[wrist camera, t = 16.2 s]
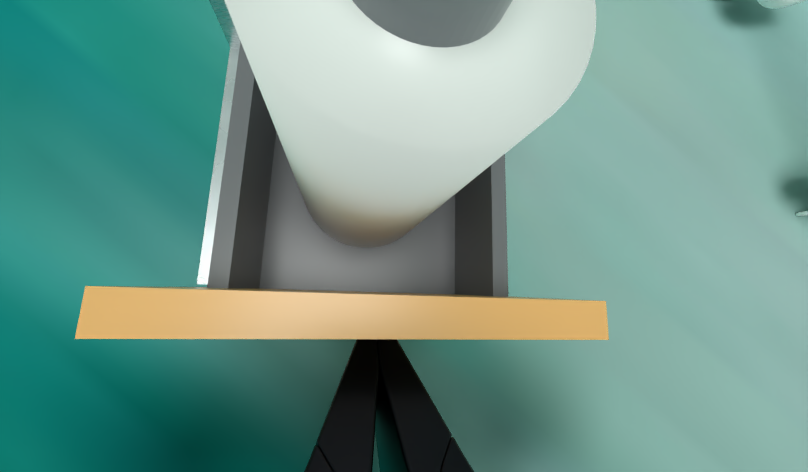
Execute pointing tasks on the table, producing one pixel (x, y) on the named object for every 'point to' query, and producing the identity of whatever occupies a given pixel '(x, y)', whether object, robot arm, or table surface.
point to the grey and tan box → (337, 266)
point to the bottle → (406, 96)
